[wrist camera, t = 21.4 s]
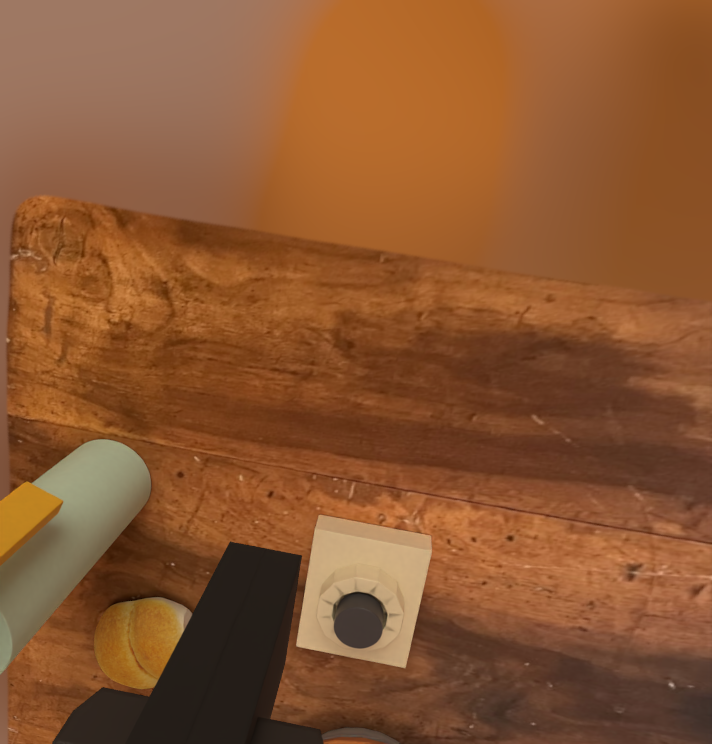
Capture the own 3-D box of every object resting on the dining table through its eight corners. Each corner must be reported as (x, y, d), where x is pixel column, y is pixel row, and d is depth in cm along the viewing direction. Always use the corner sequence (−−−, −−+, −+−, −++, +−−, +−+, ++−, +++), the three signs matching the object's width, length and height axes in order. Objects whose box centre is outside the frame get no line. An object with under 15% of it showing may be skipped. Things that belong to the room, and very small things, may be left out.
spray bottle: (110, 368, 47) (-206, 554, 23) (192, 413, 47) (-34, 641, 23) (55, 492, 50) (-269, 765, 26) (131, 532, 51) (-119, 837, 27)
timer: (318, 514, 49) (311, 541, 45) (431, 535, 48) (432, 565, 44) (300, 628, 52) (291, 662, 48) (405, 649, 52) (405, 685, 48)
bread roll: (90, 603, 53) (65, 635, 49) (184, 584, 52) (166, 615, 48) (125, 680, 55) (103, 717, 51) (217, 664, 54) (202, 700, 50)
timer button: (340, 588, 46) (337, 603, 44) (387, 597, 46) (386, 613, 44) (333, 627, 47) (330, 643, 46) (379, 636, 47) (378, 653, 45)
